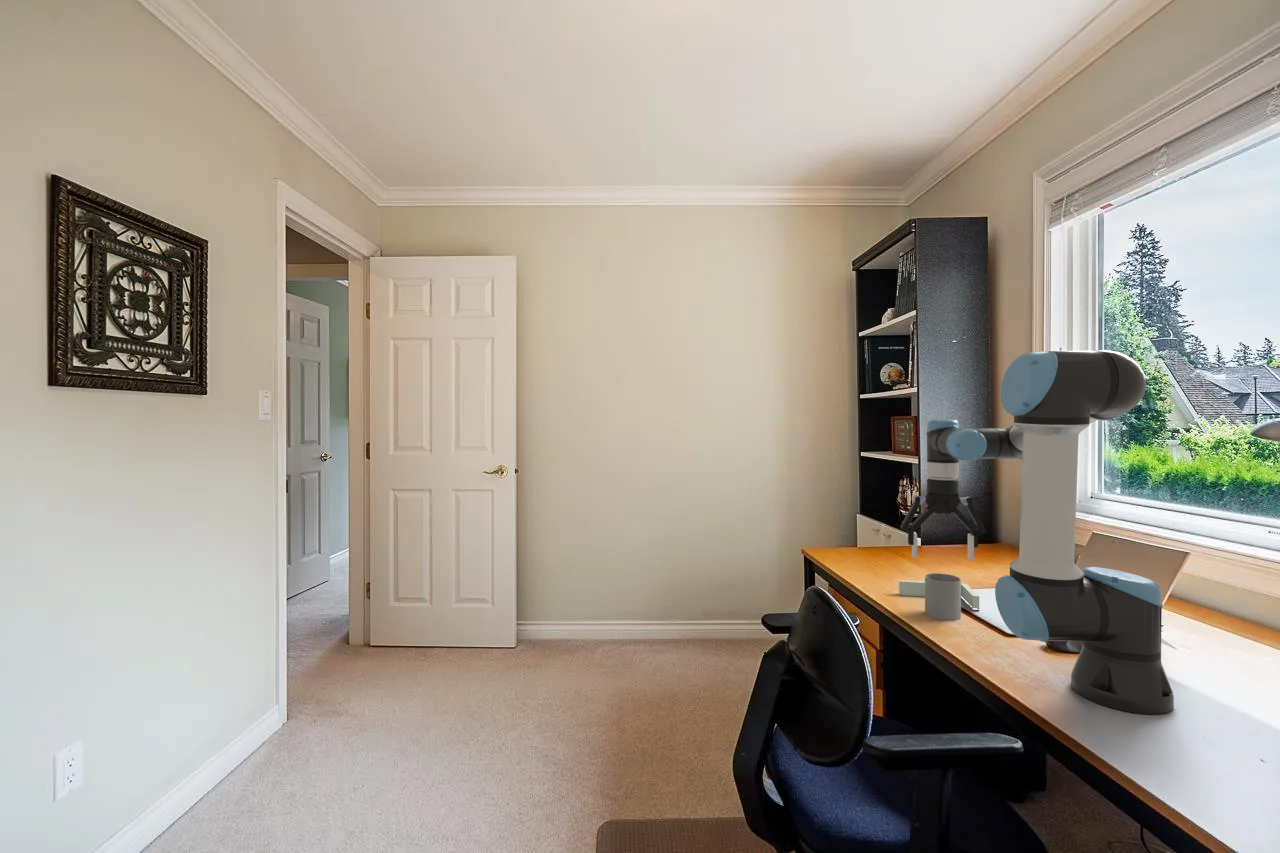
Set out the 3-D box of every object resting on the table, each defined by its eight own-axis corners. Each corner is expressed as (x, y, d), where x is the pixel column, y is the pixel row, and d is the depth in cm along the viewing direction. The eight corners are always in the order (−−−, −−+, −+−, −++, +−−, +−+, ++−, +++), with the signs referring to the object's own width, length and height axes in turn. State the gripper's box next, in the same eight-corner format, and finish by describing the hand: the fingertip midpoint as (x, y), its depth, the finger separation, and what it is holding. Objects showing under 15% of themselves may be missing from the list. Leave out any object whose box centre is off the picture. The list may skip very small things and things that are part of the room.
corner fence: (979, 611, 163) (979, 596, 162) (907, 606, 167) (907, 592, 167) (965, 597, 175) (965, 583, 174) (899, 593, 179) (898, 580, 179)
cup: (924, 617, 158) (924, 579, 158) (925, 608, 165) (925, 572, 165) (960, 622, 154) (960, 583, 154) (960, 612, 161) (960, 575, 161)
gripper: (990, 477, 160) (989, 557, 160) (889, 475, 166) (889, 552, 166) (1000, 480, 152) (999, 564, 153) (894, 479, 158) (894, 559, 159)
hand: (942, 558), depth 160 cm, fingers open, 13 cm apart
